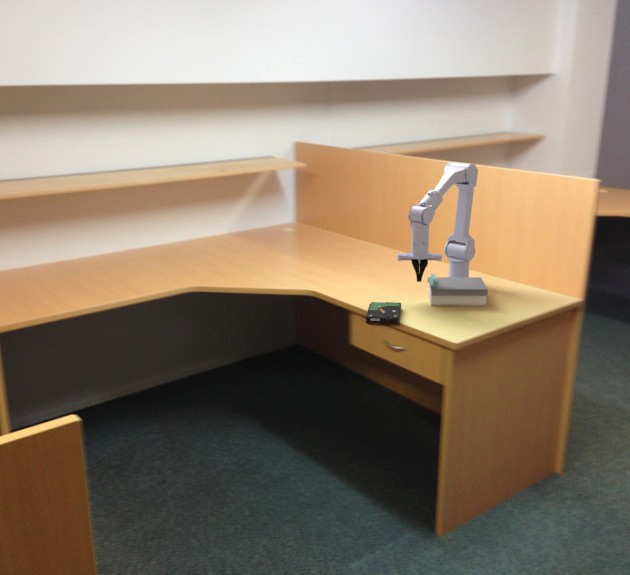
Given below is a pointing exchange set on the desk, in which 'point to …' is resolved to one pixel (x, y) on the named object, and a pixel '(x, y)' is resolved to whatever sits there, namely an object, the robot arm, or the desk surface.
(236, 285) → the desk surface
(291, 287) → the desk surface
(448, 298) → the box
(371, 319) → the disk drive
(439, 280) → the lid
